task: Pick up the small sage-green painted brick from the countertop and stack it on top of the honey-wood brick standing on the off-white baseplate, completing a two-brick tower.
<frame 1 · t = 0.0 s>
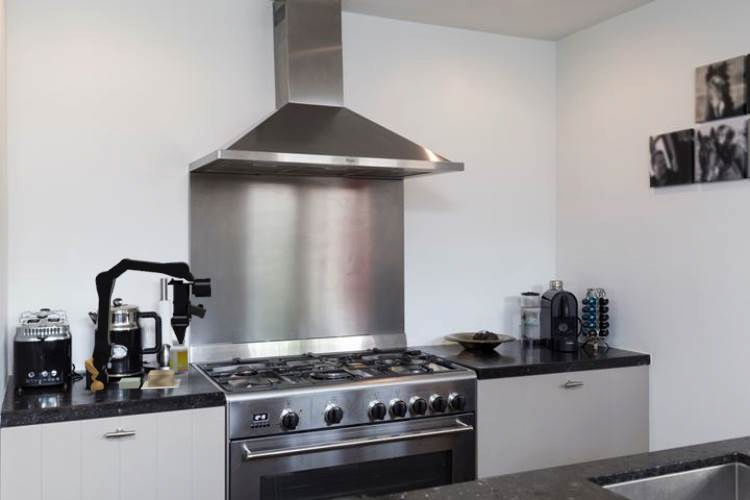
hand: (181, 342, 252), 15 cm above the worktop, tool pointing down, fingers open, 9 cm apart
sage brick: (130, 391, 241), on the worktop
baseplate: (161, 388, 245), on the worktop
wood brick: (161, 384, 245), point 1 cm above the worktop, touching baseplate
figurine: (94, 394, 237), on the worktop
supplement bottle: (178, 373, 271), on the worktop
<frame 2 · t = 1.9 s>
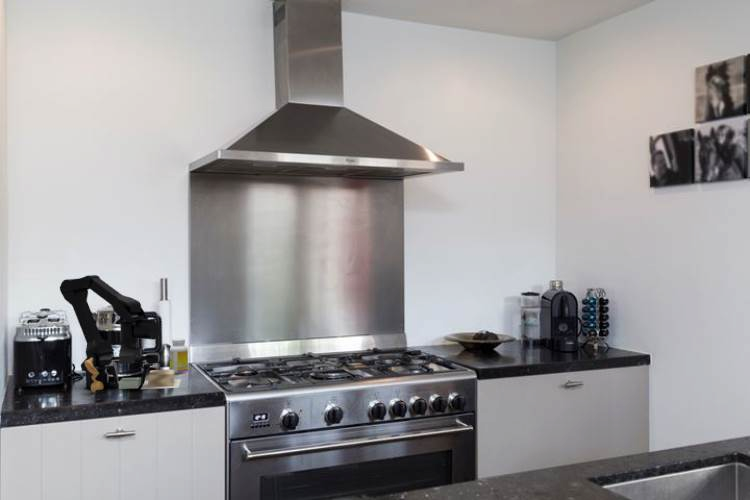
hand: (130, 384, 241), 2 cm above the worktop, tool pointing down, fingers open, 8 cm apart
wood brick: (161, 384, 245), point 1 cm above the worktop, touching baseplate, gripper
everything else where it was.
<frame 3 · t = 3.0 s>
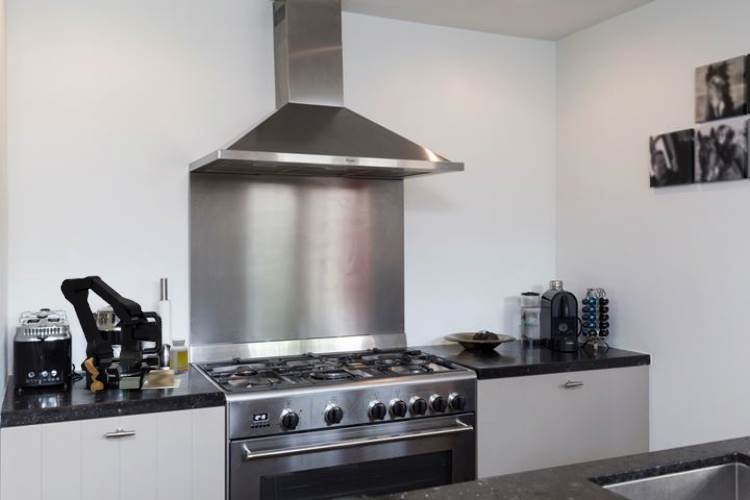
hand: (130, 387, 241), 1 cm above the worktop, tool pointing down, fingers closed on sage brick, 6 cm apart
sage brick: (130, 391, 241), on the worktop, touching gripper
wood brick: (161, 384, 245), point 1 cm above the worktop, touching baseplate
everything else where it was.
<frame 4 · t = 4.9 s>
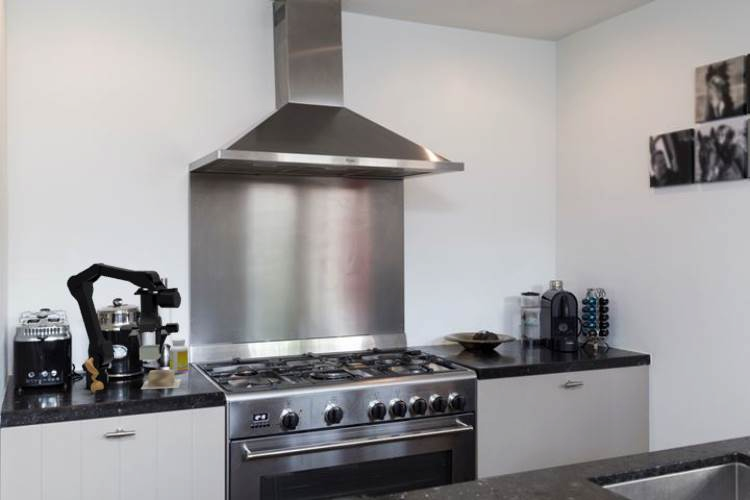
hand: (150, 354, 243), 12 cm above the worktop, tool pointing down, fingers closed on sage brick, 6 cm apart
sage brick: (150, 358, 243), point 11 cm above the worktop, touching gripper
everything else where it was.
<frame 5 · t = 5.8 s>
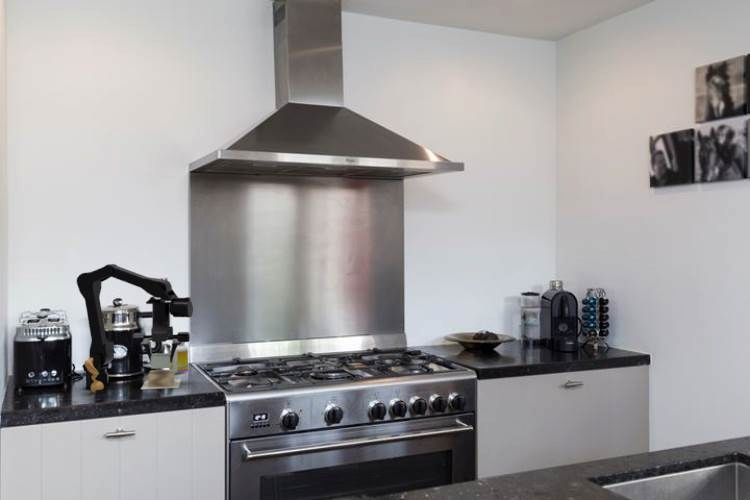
hand: (161, 362, 245), 9 cm above the worktop, tool pointing down, fingers closed on sage brick, 6 cm apart
sage brick: (161, 366, 245), point 7 cm above the worktop, touching gripper
everything else where it was.
when the fingers open (8 cm above the worktop, at t = 6.7 s): sage brick drops 2 cm, resting on wood brick.
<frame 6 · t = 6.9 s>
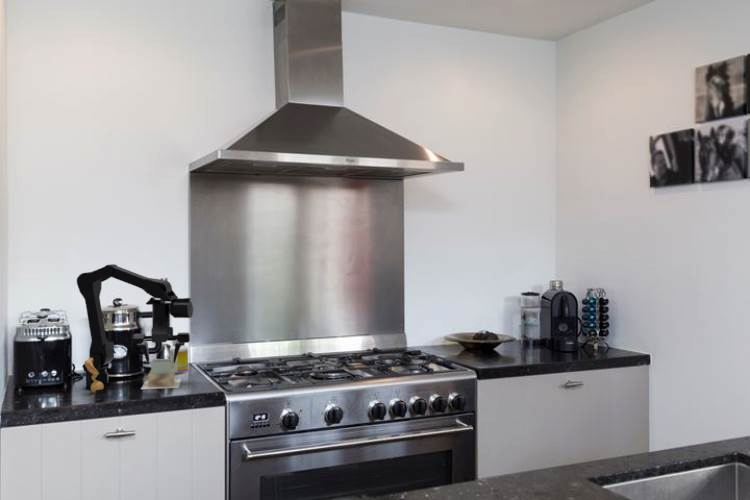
hand: (161, 363, 245), 8 cm above the worktop, tool pointing down, fingers open, 8 cm apart
sage brick: (161, 372, 245), point 5 cm above the worktop, touching wood brick
wood brick: (161, 384, 245), point 1 cm above the worktop, touching baseplate, sage brick
everything else where it was.
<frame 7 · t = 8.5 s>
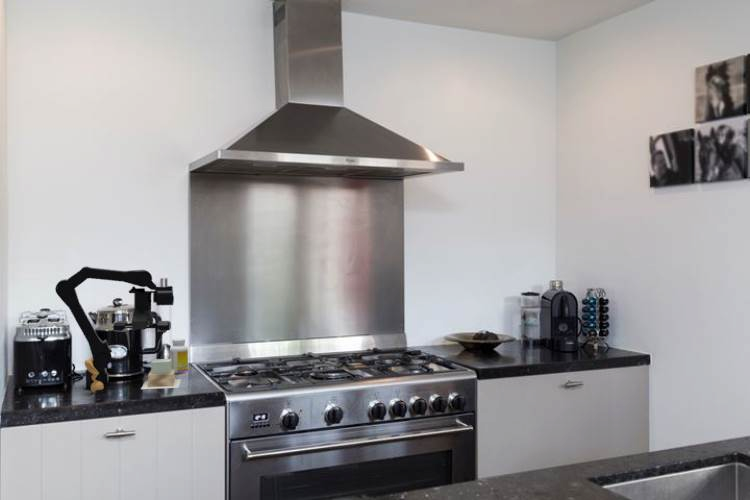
hand: (142, 350, 252), 12 cm above the worktop, tool pointing down, fingers open, 9 cm apart
nothing on the worktop moved.
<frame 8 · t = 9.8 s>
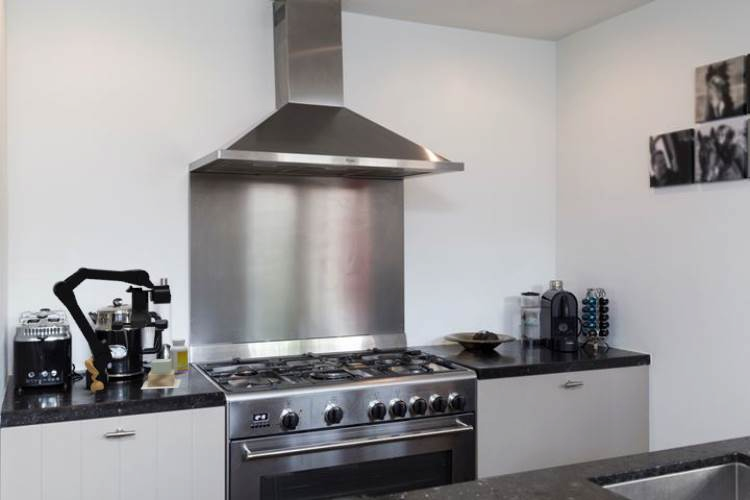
hand: (140, 349, 253), 12 cm above the worktop, tool pointing down, fingers open, 9 cm apart
nothing on the worktop moved.
at the end: sage brick 0.0 cm off-centre on the wood brick, point 4.0 cm above the wood brick's base; sage brick tilted 0°; wood brick moved 0.0 cm from its start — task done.
